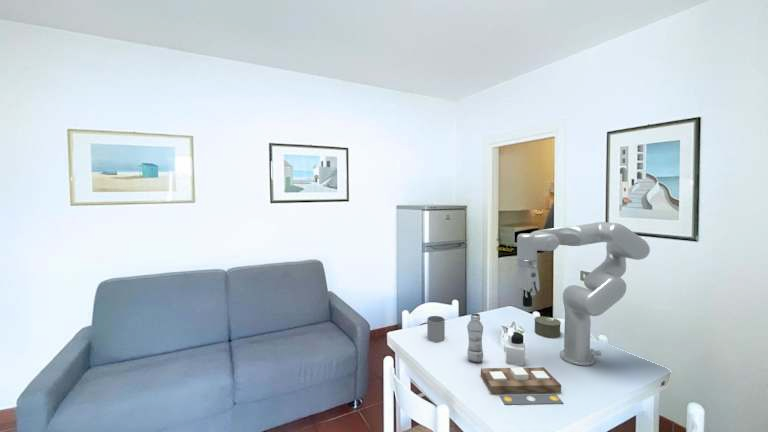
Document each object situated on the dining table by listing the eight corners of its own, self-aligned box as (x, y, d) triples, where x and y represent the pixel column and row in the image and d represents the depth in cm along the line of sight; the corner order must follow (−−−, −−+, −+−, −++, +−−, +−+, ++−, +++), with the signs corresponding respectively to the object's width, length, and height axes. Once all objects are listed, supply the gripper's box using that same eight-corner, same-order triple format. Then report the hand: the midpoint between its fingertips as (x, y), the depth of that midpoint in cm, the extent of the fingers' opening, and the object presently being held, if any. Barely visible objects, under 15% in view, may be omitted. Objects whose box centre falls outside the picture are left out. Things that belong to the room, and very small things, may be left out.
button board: (543, 374, 126) (543, 367, 126) (561, 393, 114) (561, 385, 114) (480, 375, 125) (480, 368, 125) (491, 394, 113) (491, 386, 113)
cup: (447, 337, 160) (447, 318, 160) (440, 343, 153) (440, 323, 153) (431, 333, 165) (431, 314, 164) (424, 339, 158) (424, 320, 157)
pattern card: (555, 395, 113) (555, 393, 113) (563, 403, 108) (563, 402, 108) (499, 396, 112) (499, 394, 112) (504, 404, 108) (504, 403, 108)
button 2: (543, 378, 122) (543, 370, 122) (549, 385, 117) (550, 377, 117) (530, 378, 122) (530, 370, 122) (536, 385, 117) (537, 377, 117)
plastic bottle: (484, 364, 134) (484, 318, 133) (467, 363, 135) (467, 316, 134) (482, 357, 140) (482, 312, 139) (466, 356, 141) (466, 311, 140)
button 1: (501, 378, 122) (501, 371, 122) (506, 386, 117) (506, 378, 117) (489, 379, 122) (489, 371, 122) (493, 386, 117) (493, 378, 117)
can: (529, 332, 165) (529, 319, 165) (541, 327, 173) (541, 314, 172) (553, 340, 156) (553, 327, 155) (564, 334, 163) (565, 321, 162)
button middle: (522, 375, 122) (522, 367, 122) (528, 382, 117) (528, 374, 117) (509, 375, 122) (510, 367, 122) (515, 382, 117) (515, 374, 117)
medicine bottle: (524, 358, 138) (525, 331, 138) (524, 366, 132) (524, 338, 131) (507, 355, 141) (507, 329, 141) (505, 363, 135) (506, 335, 134)
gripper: (546, 266, 127) (546, 311, 128) (526, 259, 142) (526, 300, 143) (527, 267, 126) (528, 312, 127) (510, 260, 141) (510, 301, 142)
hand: (527, 305), depth 135 cm, fingers closed
